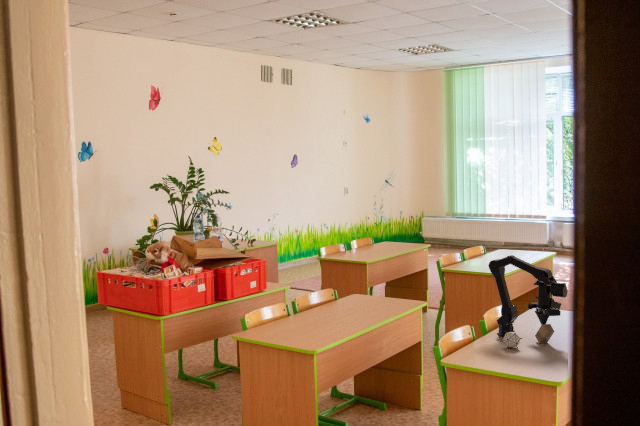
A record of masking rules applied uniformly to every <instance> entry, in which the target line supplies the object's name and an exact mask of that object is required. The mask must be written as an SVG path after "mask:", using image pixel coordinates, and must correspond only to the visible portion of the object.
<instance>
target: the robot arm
mask: <svg viewBox="0 0 640 426" xmlns="http://www.w3.org/2000/svg"><path fill="white" fill-rule="evenodd" d="M508 265H512V266H514V267H516V268H518V269H520V270H522V271H525V272H527V273H529V274H530V275H532V276H533V278H534V279H536V281H535V282H534V283H533V285H534V286H537V296H535V299H537V302H536V301H535V302H529V303H528V304H527V308H528V309H529V310H533V309H535V310H534V313H535V315H536V316H537V318H538V320H539V322H540V325H542V324H547V322H548V319H549V318H550V317H556V316H557V317H559V316H561V313H562V312H561V306H562V303H560V302H557V301H555V299H554V298H553V297H556V298H557V297H558V298H567V297H568V292H569V291H568V288H567V284H566V282H557V280H556V278H555V277H554V276H553V271H552V270H550V269H548V268H545V267H542V266H536V265H533V264H532V263H529V262H527V261H525V260H523V259H521V258H518V257H516V256H515V255H513V254H511V255H508V256H505V257H502V258H497V259H493V260H490V261H489V263H488V269H489V271H490V273H491V275H492V276H493V277H494V279H495V284H496V287H497V291H498V295H499V298H500V299H499V300H500V302H501V303H500V304H501V309H500V313H501V316H500V317H499V318H498V319H496V322H497V325H498V332H497V333H496V335H498V336H500V337H502V338H504V336H505V334H506V332H513V331H514V323H515V322H516V320H517V319H518V317H519V315H518V314H519V311H518V307H517V305H513V303H512V301H511V298H510V292H509V289H508V285H507V281H506V277H505V272H506V267H507V266H508ZM505 331H506V332H505Z"/></svg>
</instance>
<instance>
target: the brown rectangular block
mask: <svg viewBox="0 0 640 426" xmlns="http://www.w3.org/2000/svg"><path fill="white" fill-rule="evenodd" d="M540 325H541V324H540ZM554 333H555V330H554V327H553V326H552V324H551V323H546V324H542V325H541V326H540V327H539V329H538V330H537V332H536V334H535V335H534V337H535V338H536V340H537V342H538V343H539V344H547V343H549V341H550V339H551V338H552V336H553V334H554Z"/></svg>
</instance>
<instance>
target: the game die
mask: <svg viewBox="0 0 640 426" xmlns="http://www.w3.org/2000/svg"><path fill="white" fill-rule="evenodd" d="M505 332H506V331H505ZM522 339H523V338H522V337H520V336H518V334H517V333H516V331H515V330H513V332H506V334H505V336H504V337H502V340H501V341H500V342H503V343H504V344H505V345H506V346H507V349H508V350H509V349H510V348H517V349H518V348H519V347H518V345H519V343H520V340H522Z"/></svg>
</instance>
